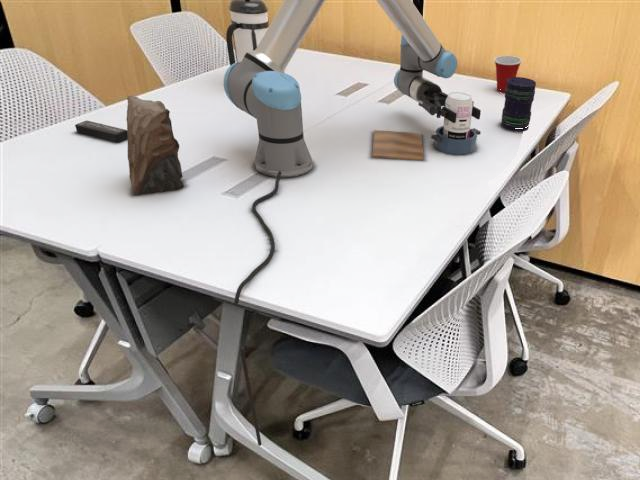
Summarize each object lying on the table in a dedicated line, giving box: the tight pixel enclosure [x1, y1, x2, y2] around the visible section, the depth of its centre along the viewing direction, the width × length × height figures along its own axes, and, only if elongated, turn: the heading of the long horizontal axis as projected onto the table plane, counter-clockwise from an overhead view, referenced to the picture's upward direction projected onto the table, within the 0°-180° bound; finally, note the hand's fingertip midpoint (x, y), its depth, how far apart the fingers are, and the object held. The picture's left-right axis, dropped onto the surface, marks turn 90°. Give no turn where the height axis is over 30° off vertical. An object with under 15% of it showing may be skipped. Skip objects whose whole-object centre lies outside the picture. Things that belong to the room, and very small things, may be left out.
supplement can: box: [442, 91, 474, 139], centre depth 178 cm, size 8×8×15 cm
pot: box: [430, 125, 482, 156], centre depth 182 cm, size 13×17×4 cm
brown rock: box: [125, 95, 185, 196], centre depth 141 cm, size 13×13×20 cm
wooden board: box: [371, 129, 424, 161], centre depth 179 cm, size 20×15×1 cm
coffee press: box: [225, 0, 270, 67], centre depth 203 cm, size 17×16×30 cm
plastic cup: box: [493, 55, 523, 94], centre depth 228 cm, size 11×11×12 cm
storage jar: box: [500, 76, 537, 133], centre depth 197 cm, size 10×10×15 cm
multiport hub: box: [74, 120, 128, 144], centre depth 166 cm, size 4×14×2 cm, turn 71°
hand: (467, 116), depth 173 cm, fingers closed on supplement can, 8 cm apart
